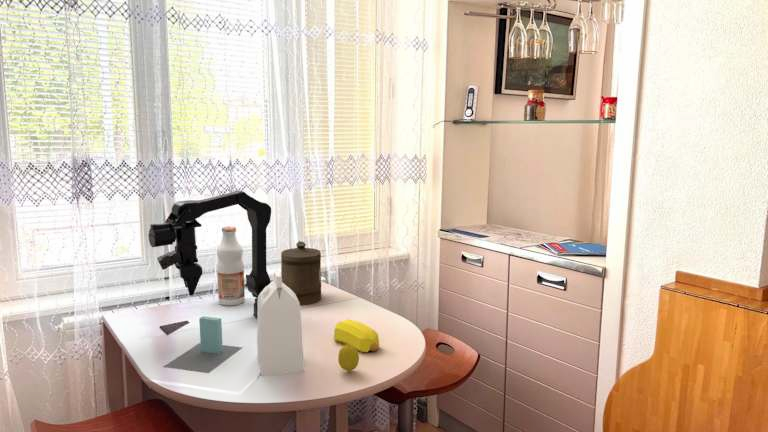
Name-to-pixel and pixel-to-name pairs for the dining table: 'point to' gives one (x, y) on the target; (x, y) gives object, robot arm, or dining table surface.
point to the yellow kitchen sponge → (357, 335)
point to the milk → (279, 329)
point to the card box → (211, 334)
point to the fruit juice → (230, 269)
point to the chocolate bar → (173, 327)
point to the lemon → (348, 357)
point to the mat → (202, 359)
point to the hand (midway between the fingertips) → (189, 291)
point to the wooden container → (302, 272)
